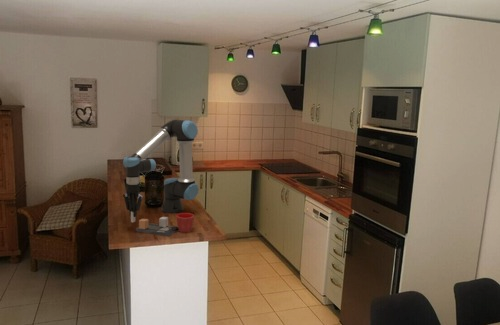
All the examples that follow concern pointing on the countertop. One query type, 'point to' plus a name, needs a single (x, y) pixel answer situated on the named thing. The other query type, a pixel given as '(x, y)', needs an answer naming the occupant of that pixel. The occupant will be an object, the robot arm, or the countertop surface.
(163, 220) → the fader
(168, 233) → the console
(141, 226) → the fader
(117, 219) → the countertop surface
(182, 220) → the flower pot
